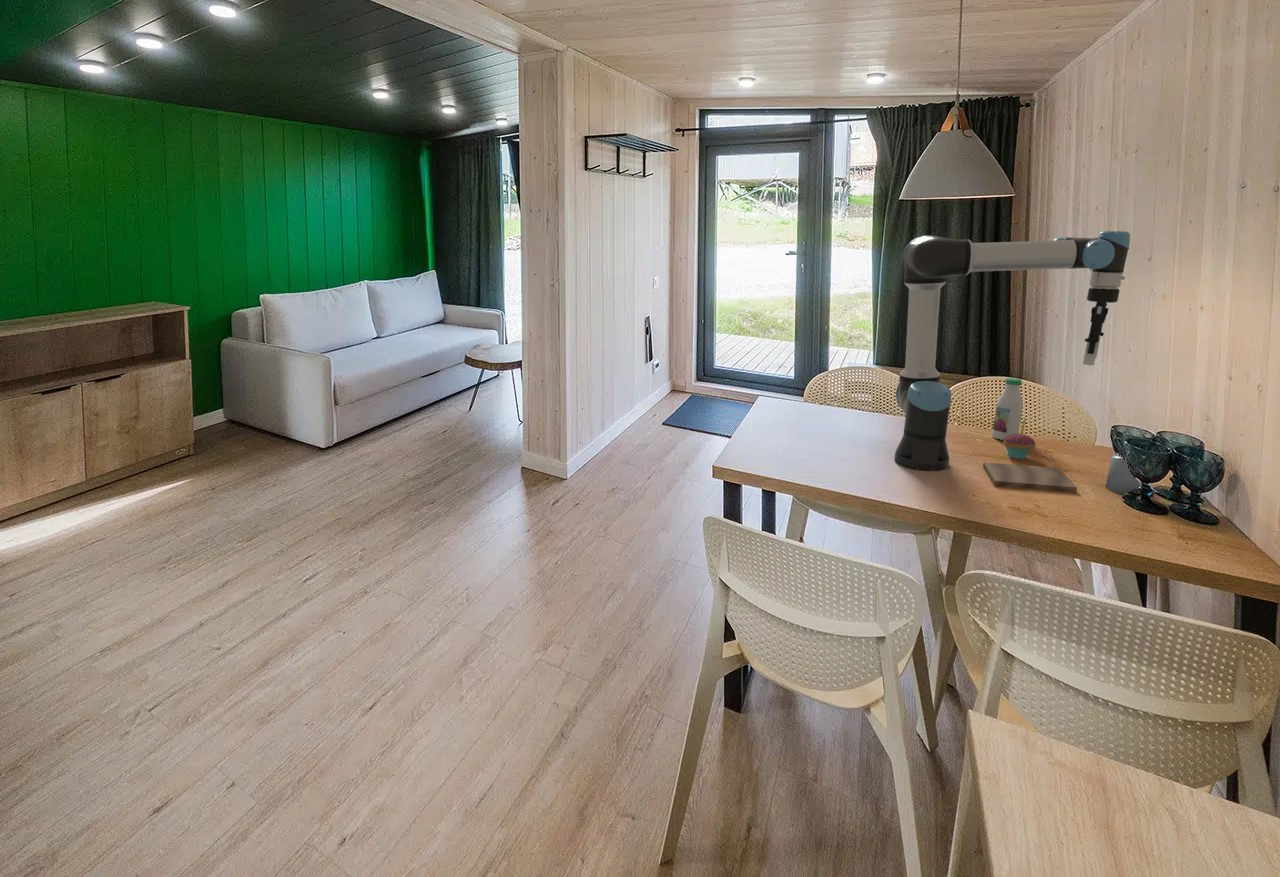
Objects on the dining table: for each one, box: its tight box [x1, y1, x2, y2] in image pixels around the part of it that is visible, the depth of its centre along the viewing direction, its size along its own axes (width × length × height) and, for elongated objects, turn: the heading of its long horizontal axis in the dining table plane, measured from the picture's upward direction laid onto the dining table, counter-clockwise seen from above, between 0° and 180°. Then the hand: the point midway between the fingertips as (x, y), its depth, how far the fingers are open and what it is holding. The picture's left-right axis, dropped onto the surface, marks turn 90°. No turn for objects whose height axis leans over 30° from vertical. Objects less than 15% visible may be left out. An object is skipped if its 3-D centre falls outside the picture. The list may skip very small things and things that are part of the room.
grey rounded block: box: [1105, 452, 1140, 495], centre depth 192 cm, size 8×8×9 cm
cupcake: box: [1002, 417, 1036, 460], centre depth 218 cm, size 9×8×12 cm
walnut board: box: [982, 461, 1078, 494], centre depth 200 cm, size 20×16×2 cm
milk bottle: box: [991, 377, 1024, 441], centre depth 235 cm, size 8×8×20 cm
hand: (1089, 361), depth 211 cm, fingers open, 13 cm apart
